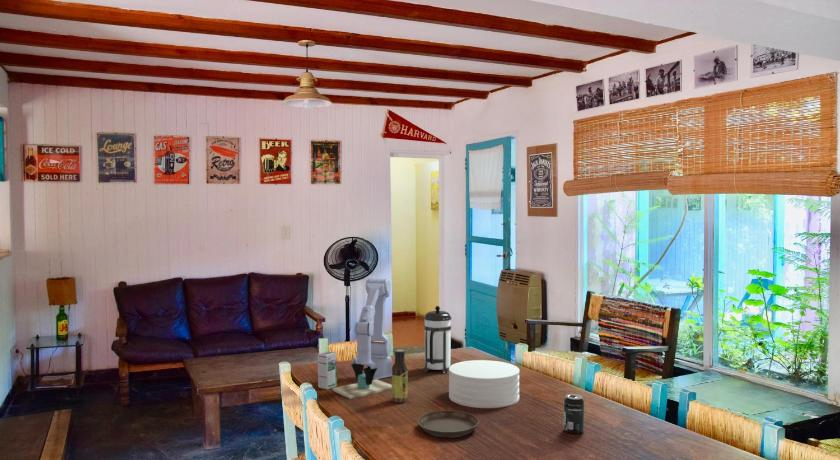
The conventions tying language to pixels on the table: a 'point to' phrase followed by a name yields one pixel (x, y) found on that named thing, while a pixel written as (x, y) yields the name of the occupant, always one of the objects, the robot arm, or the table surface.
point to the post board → (355, 392)
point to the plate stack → (484, 383)
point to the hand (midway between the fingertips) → (364, 382)
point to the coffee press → (437, 340)
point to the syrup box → (327, 370)
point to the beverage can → (573, 413)
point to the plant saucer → (448, 423)
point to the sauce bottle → (399, 378)
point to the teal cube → (362, 382)
